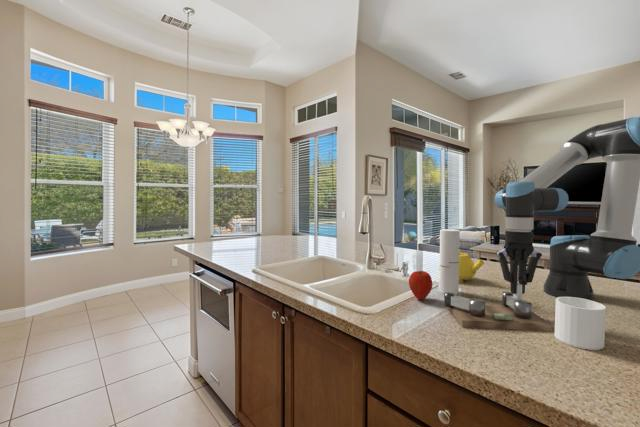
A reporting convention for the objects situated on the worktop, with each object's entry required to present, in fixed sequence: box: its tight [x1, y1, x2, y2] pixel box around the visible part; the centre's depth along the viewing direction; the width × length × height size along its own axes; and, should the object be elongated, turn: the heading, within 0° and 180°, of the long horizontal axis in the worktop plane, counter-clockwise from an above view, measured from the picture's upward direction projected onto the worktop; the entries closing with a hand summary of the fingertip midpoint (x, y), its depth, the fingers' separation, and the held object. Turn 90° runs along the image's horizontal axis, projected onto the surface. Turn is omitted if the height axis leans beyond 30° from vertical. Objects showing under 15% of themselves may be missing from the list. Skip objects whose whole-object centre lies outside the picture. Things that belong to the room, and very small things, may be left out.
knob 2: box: [501, 291, 533, 318], centre depth 96 cm, size 13×4×4 cm, turn 174°
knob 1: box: [443, 292, 487, 317], centre depth 97 cm, size 13×4×4 cm, turn 39°
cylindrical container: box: [438, 228, 461, 296], centre depth 122 cm, size 7×7×25 cm
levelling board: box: [447, 304, 552, 332], centre depth 95 cm, size 24×14×4 cm, turn 83°
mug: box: [554, 297, 607, 351], centre depth 81 cm, size 13×10×10 cm
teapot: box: [438, 249, 485, 284], centre depth 139 cm, size 20×16×14 cm
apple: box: [408, 270, 433, 301], centre depth 114 cm, size 9×8×11 cm
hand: (517, 303), depth 98 cm, fingers closed
